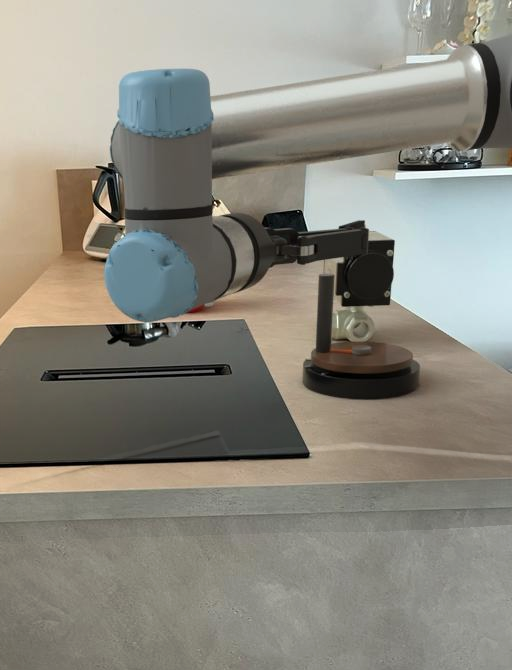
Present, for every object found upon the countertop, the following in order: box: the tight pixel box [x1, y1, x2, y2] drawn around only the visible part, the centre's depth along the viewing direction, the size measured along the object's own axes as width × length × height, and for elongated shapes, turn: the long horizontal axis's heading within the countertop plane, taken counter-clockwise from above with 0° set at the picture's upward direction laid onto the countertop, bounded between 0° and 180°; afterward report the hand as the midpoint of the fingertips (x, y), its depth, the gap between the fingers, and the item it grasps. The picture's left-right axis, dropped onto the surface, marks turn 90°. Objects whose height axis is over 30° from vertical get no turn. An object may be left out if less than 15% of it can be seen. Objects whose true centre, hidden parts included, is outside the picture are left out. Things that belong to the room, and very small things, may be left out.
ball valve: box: [322, 224, 396, 342], centre depth 124 cm, size 18×8×18 cm, turn 177°
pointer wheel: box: [310, 273, 414, 374], centre depth 101 cm, size 13×13×11 cm
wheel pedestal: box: [302, 356, 421, 400], centre depth 104 cm, size 15×15×3 cm
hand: (304, 232), depth 93 cm, fingers open, 13 cm apart
